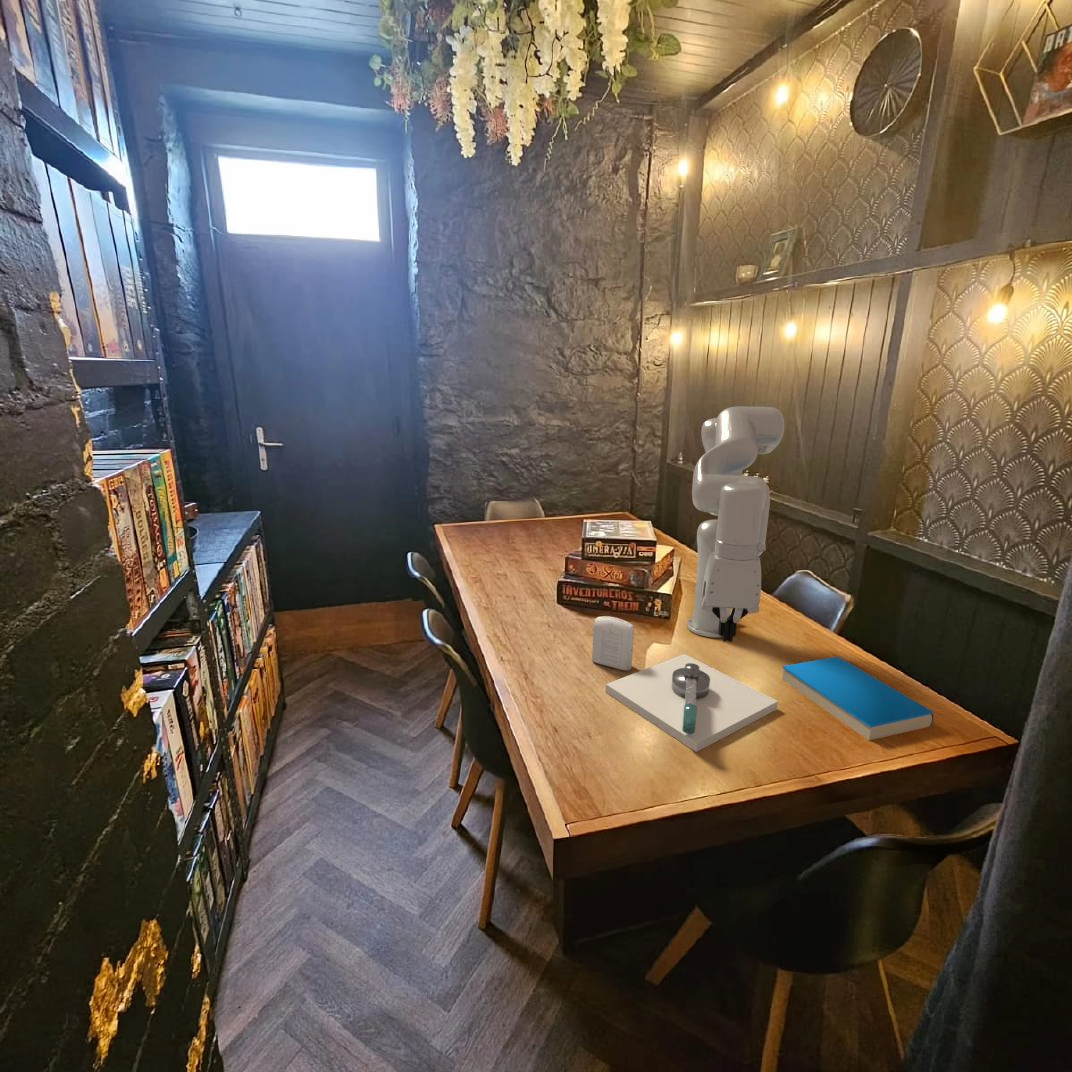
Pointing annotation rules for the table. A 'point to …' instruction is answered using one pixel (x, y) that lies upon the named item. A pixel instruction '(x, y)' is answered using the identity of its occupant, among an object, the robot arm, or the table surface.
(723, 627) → the robot arm
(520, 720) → the table surface
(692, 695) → the crank handle
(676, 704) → the stand base
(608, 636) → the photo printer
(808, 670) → the book
